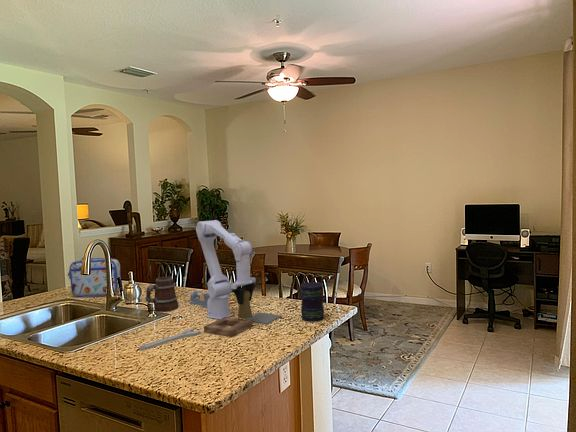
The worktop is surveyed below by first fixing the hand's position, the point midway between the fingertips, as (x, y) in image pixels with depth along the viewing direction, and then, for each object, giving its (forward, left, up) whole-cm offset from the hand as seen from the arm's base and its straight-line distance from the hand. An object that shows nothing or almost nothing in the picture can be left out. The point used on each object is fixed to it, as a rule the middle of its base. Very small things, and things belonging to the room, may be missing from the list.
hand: (244, 302), depth 181 cm
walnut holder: (-2, -9, -9) cm, 13 cm away
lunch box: (-109, +8, -10) cm, 110 cm away
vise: (-40, +19, -10) cm, 46 cm away
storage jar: (+23, +18, -10) cm, 31 cm away
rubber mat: (+3, +9, -9) cm, 14 cm away
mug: (-51, +2, -10) cm, 52 cm away
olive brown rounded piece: (0, 0, -6) cm, 6 cm away
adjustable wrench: (-16, -28, -10) cm, 33 cm away
